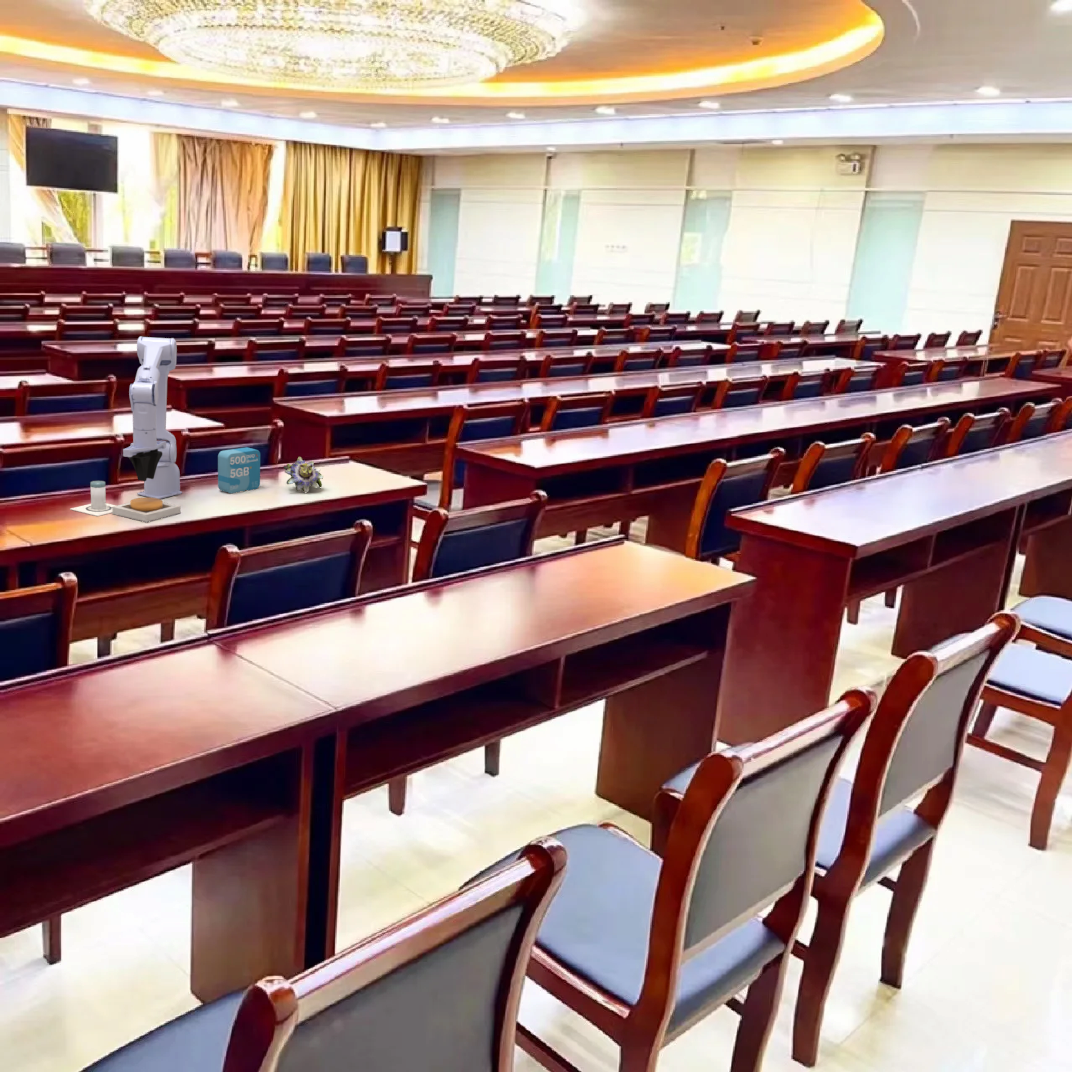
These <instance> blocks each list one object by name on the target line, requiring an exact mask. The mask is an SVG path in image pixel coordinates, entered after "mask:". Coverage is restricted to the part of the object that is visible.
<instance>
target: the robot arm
mask: <svg viewBox="0 0 1072 1072" xmlns="http://www.w3.org/2000/svg"><path fill="white" fill-rule="evenodd" d="M177 347H178V346H177V340H176V339H175V338H174V337H171V338H169V337H168V338H167V337H166V338H165V337H150V336H149V337H148V336H139V337H138V338H137V342H136V354H137V357H138V360H139V364H141V366H139V367H138V368H137V371H136V374H135V378H134V379H135V380H134V382H133V383H130V385H129V391H128V393H129V394H128V395H129V401H130V410H131V412H132V439H133V441H132V443H131V442H130V446H128V447H126V448H123V449H122V453H123V454H122V456H123V457H125V458H129V460H130V462H131V463H132V466H133V468H134V471H135V474H136V477H137V480H138V481H141V482H144V484H143V486H144V487H143V491H139V492H137V495H138V496H142V497H145V498H157V499H161V500H162V499H166V498H169V497H172V496H177V495H180V494H181V495H182V493H183V491H182V490H181V482H180V481H181V474H180V469H179V467H178V465H177V464H176V462H177V440H176V437H175V435H174V434H173V433H171V431H169V430H167V401H168V399H167V398H168V378H169V374H170V372H171V371H174V370H176V366H177V356H178V355H177V354H178V352H177V351H178V349H177Z"/></svg>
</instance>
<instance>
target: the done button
mask: <svg viewBox="0 0 1072 1072" xmlns="http://www.w3.org/2000/svg"><path fill="white" fill-rule="evenodd" d="M163 502H164V501H163V500H162V498H161V499H157V498H151V497H138V498H133V499H131V500H130V501H129V503H130V507H131V509H133V510H137V511H155V510H159V509H162V508H163Z"/></svg>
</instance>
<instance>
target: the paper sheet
mask: <svg viewBox="0 0 1072 1072" xmlns="http://www.w3.org/2000/svg"><path fill="white" fill-rule="evenodd" d="M113 506H117V505H115V504H111V503H107V502H106V509H102V510H94V509H92V508H91V503H88V504H84V505H80V506H76V507H75V506H74V507H71V508H69V510H70V511H74V512H78V513H83V514H85V515H90V516H95V517H100V516H105V515H109V514H112V507H113Z"/></svg>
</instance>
